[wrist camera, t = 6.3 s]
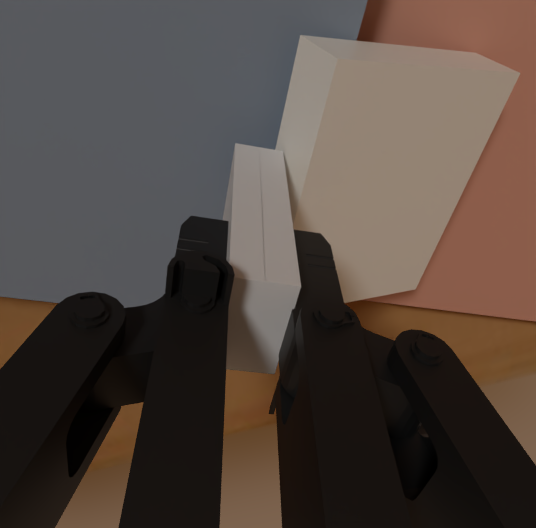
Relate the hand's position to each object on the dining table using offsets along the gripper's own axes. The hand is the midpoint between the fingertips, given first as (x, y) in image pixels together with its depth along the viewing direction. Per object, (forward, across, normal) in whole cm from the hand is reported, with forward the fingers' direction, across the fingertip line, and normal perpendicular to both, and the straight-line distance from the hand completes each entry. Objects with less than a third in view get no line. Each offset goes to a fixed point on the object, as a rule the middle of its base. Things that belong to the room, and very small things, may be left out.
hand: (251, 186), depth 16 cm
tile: (+1, +4, 0) cm, 4 cm away
